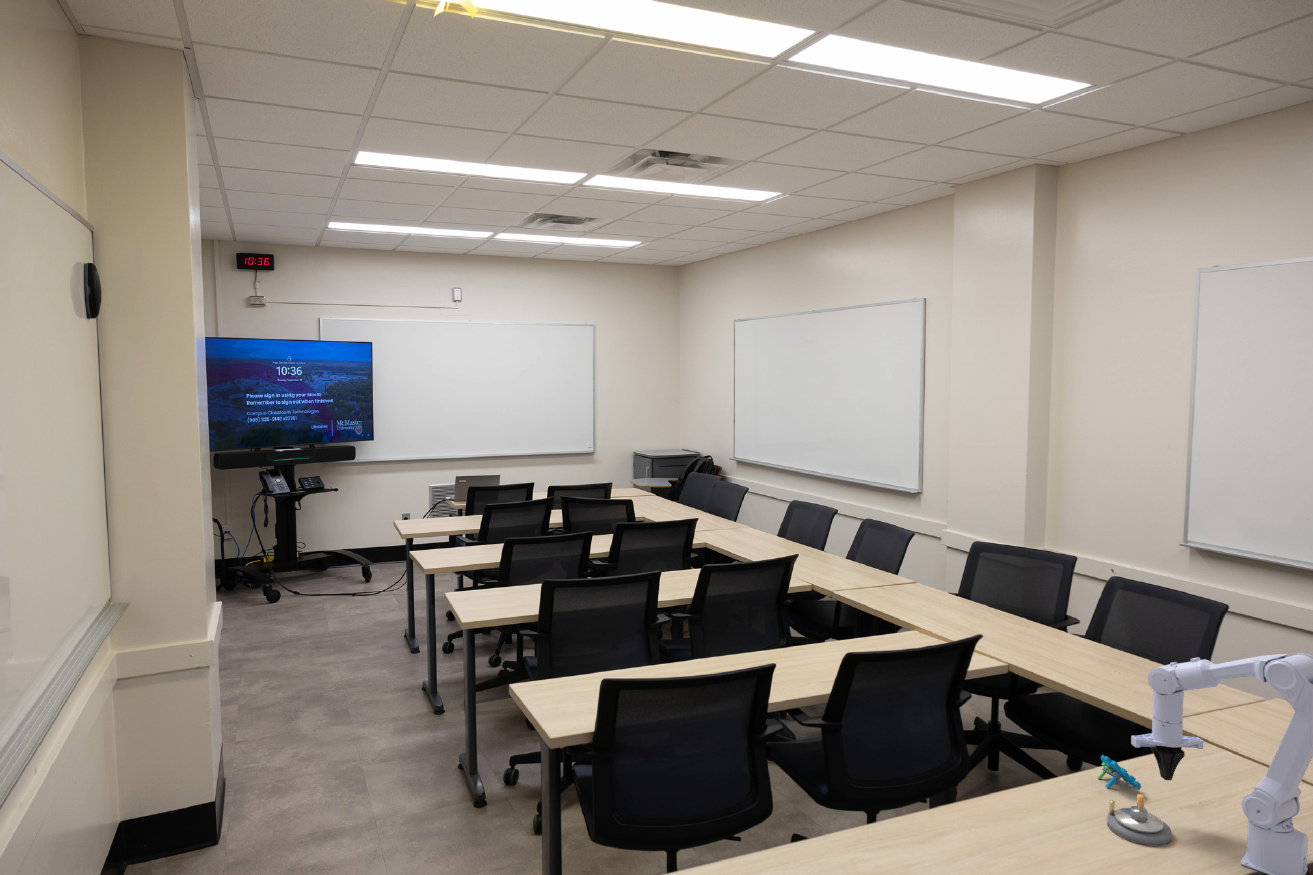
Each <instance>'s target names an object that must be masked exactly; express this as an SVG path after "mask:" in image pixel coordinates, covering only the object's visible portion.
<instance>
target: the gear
mask: <svg viewBox="0 0 1313 875" xmlns="http://www.w3.org/2000/svg"><path fill="white" fill-rule="evenodd" d="M1100 760H1101V762H1102V763H1101V765H1102V769H1101V770H1102V772H1101V773H1100V774H1099V775H1098V776H1097V779H1098V780H1101V779H1102V778H1103V777H1104V776H1105V775H1106V774H1107V775H1109V776H1110V777H1112V778H1111V779H1110V780H1109V781H1108V782H1107V783H1106V785H1105V787H1107V788H1108V789H1111V788H1112V786H1113V785H1114V784H1116V782H1117V781H1120V780H1121V779H1122V780H1123V781H1124V782H1125V783H1127V784H1130V786H1132V787H1133V788H1135V789H1137V790H1140V789H1141V788H1142V784H1141V783H1140V782H1139V781H1137V779H1136V778H1135V777H1134V776H1133V775H1132V774H1129V773H1128V770H1127V769H1125V768H1124V767H1122V766H1121V765H1119V764H1118V762H1116V761H1115V760H1112V759H1111V758H1110V757H1109V756H1105V755H1104V754H1102V755H1101V756H1100Z"/></svg>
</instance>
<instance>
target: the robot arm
mask: <svg viewBox="0 0 1313 875" xmlns="http://www.w3.org/2000/svg"><path fill="white" fill-rule="evenodd" d="M1247 677H1248V678H1249V677H1255V678H1256V679H1258V680H1259V681H1260V682H1261V683H1264V684H1265V683H1268V684H1269V685H1270V686H1271V688H1273V689H1274V691H1276V692H1277V693H1278V694H1279V695H1280V696H1281V697H1282V698H1283V699H1284V700H1285V701H1286V702H1288V704H1290V705H1291V707H1292V709H1293V710H1294V713H1293V715H1292V717H1291V720H1290V722H1289V724H1288V726H1287V728H1286V730H1285V732H1284V734H1283V736H1282V739H1281V741H1280V744H1279V746H1278V747H1277V750H1276V752H1275V754H1274V756H1273V758H1272V760H1271V763H1270V765H1269V767H1268V768H1267V771H1266V774H1265V776H1264V777H1263V778H1262V779H1261V780H1260V781H1259V782H1258V783H1257V784H1256V785H1255V787H1254V788H1253V791H1252V792H1250V793H1249V794H1246V795H1245V796H1243V798H1242V800H1241V809H1242V811H1243V813H1244V815H1245V817H1246V818H1247V838H1246V839H1247V840H1246V841H1247V843H1246V845H1247V846H1246V853H1244V856H1243V857H1242V858H1241V860H1240V865H1242V866H1244V867H1247V868H1250V869H1253V870H1255V871H1257V872H1260V873H1263V874H1267V875H1306V874H1307V872H1308V870H1309V869H1308V851H1309V848H1308V847H1309V846H1308V845H1309V843H1308V842H1309V840H1308V834H1306V833H1305V832H1302V831H1300V830H1298V829H1296V828H1295V827H1294V822H1293V819H1294V818H1293V817H1295V816H1297V815H1298V814H1299V813H1300V811H1301V803H1300V797H1301V794H1302V790H1301V788H1299V787H1300V784H1301V782H1302V780H1303V778H1304V776H1305V774H1306V772H1307V769H1308V768H1309V765H1310V763H1311V761H1312V759H1313V655H1311V654H1308V653H1306V652H1305V653H1303V652H1298V653H1293V654H1292V655H1290V656H1289V653H1280V654H1268V655H1267V654H1266V655H1258V656H1252V657H1248V658H1247V657H1246V658H1243V659H1237V660H1231V661H1228V662H1221V663H1217V664H1216V663H1213V662H1212V661H1210V660H1208V659H1205V658H1204V659H1201V658H1200V657H1199V656H1198V657H1193V658H1190V659H1189V661H1187V662H1179V663H1178V662H1177V661H1174V662H1170V663H1169V664H1166V665H1163V666H1157V667H1154V668H1153V669H1151V670H1149V672H1148V674H1147V682H1148V684H1149V686H1150V687H1151V689H1152V718H1151V720H1152V724H1151V725H1152V726H1151V728H1152V729H1151V733H1145V734H1139V735H1131V738H1130V740H1131V741H1130V742H1131V743H1130V744H1131V745H1132V746H1133V747H1135V748H1137V749H1138V748H1140V749H1141V747H1143V748H1144V747H1149V748H1150V750H1151V751H1152V754H1153V755H1154V758H1155V760H1156V763H1157V766H1158V770H1159V775H1160V777H1161V778H1162V779H1164V781H1173V776H1174V774H1175V771H1176V769H1177V767H1178V765H1179V764H1180V762H1181V761H1182V760H1183V759H1184V758H1185V754H1186V753H1185V751H1184V750H1183V749H1182V748H1185V749H1187V748H1188V749H1189V748H1193V749H1194V748H1196V749H1198V750H1204V740H1203V739H1201V738H1200V737H1197V736H1187V735H1183V734H1184V733H1183V732H1184V731H1183V729H1184V728H1183V727H1184V722H1183V721H1184V697H1185V691H1192V690H1193V691H1194V690H1201V689H1208V688H1215V687H1217V686H1219V684H1220V682H1221V680H1228V679H1237V678H1247Z"/></svg>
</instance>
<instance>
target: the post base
mask: <svg viewBox="0 0 1313 875" xmlns="http://www.w3.org/2000/svg"><path fill="white" fill-rule="evenodd" d="M1115 808H1116V805H1115V800H1112V799H1109V810H1108V811H1109V812H1108V814H1107V816H1106V819H1107V820H1106V825H1107V828H1108V829H1109V830H1110V831H1111V832H1112V833H1113V834H1115V835H1116V836H1117V837H1120V838H1122V839H1124V840H1126V841H1129V842H1131V843H1135V844H1138V845H1143V846H1147V847H1148V846H1149V847H1160V846H1162V845H1163V846H1166V845H1168V844H1170V843H1171V842H1172V829H1171V827H1170V826H1169V825H1168V824H1167V823H1166V822H1164V821H1163V820H1161V821H1162V822H1163V830H1162V831H1161V832H1159V833H1142V832H1138V831H1134V830H1131V829H1129V828H1127V827H1125V826H1123V825H1121V824H1120V823H1119V822H1118V821H1117V820H1116V819H1115V812H1116V811H1117V810H1118V809H1116V810H1115ZM1170 841H1171V842H1170ZM1169 842H1170V843H1169ZM1165 844H1166V845H1165Z"/></svg>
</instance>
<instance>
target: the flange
mask: <svg viewBox="0 0 1313 875" xmlns="http://www.w3.org/2000/svg"><path fill="white" fill-rule="evenodd" d="M1116 810H1117V811H1116V812H1115V819H1116V820H1117V821H1118V822H1119V823H1120V824H1121V825H1123V826H1125V827H1127V828H1129V829H1131V830H1134V831H1138V832H1142V833H1159V832H1161V831H1162V830H1163V822H1164V821H1163V820H1162V819H1161V818H1160V817H1158V816H1157V815H1155V814H1153V813H1151V812H1149V811H1148V810H1147V808H1146V807H1145V795H1144V794H1139V793H1137V794H1136V805H1133V806H1132V805H1131V806H1130V807H1121V808H1119V809H1116ZM1162 821H1163V822H1162Z"/></svg>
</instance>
